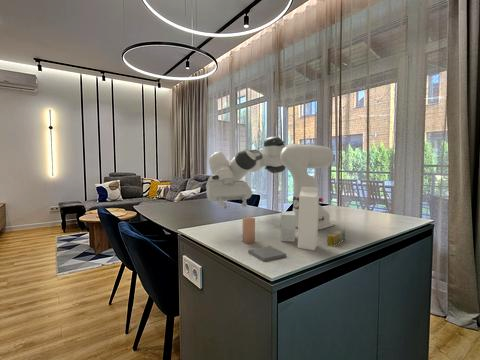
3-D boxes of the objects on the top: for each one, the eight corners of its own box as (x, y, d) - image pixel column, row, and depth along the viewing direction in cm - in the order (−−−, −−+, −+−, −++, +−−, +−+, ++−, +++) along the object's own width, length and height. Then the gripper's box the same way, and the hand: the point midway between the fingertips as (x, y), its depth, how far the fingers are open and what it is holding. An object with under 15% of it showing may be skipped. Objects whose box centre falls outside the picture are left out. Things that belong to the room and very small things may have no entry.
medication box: (338, 238, 108) (338, 229, 107) (345, 240, 106) (345, 230, 106) (327, 245, 98) (327, 235, 98) (334, 247, 97) (334, 236, 96)
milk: (314, 250, 92) (316, 188, 90) (297, 248, 94) (299, 187, 93) (317, 245, 97) (319, 186, 96) (300, 243, 100) (302, 185, 98)
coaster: (270, 248, 93) (270, 245, 93) (286, 256, 85) (286, 253, 85) (248, 252, 89) (248, 249, 89) (263, 261, 81) (263, 258, 81)
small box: (295, 242, 101) (295, 215, 100) (280, 241, 102) (281, 214, 101) (294, 236, 109) (295, 211, 108) (281, 235, 110) (281, 210, 109)
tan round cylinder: (250, 239, 104) (250, 216, 104) (257, 242, 100) (257, 219, 100) (240, 240, 102) (240, 217, 101) (246, 244, 98) (246, 220, 97)
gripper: (243, 185, 124) (253, 209, 116) (202, 186, 114) (210, 213, 106) (248, 176, 119) (259, 200, 112) (205, 177, 110) (214, 204, 102)
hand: (235, 206), depth 109 cm, fingers open, 8 cm apart
